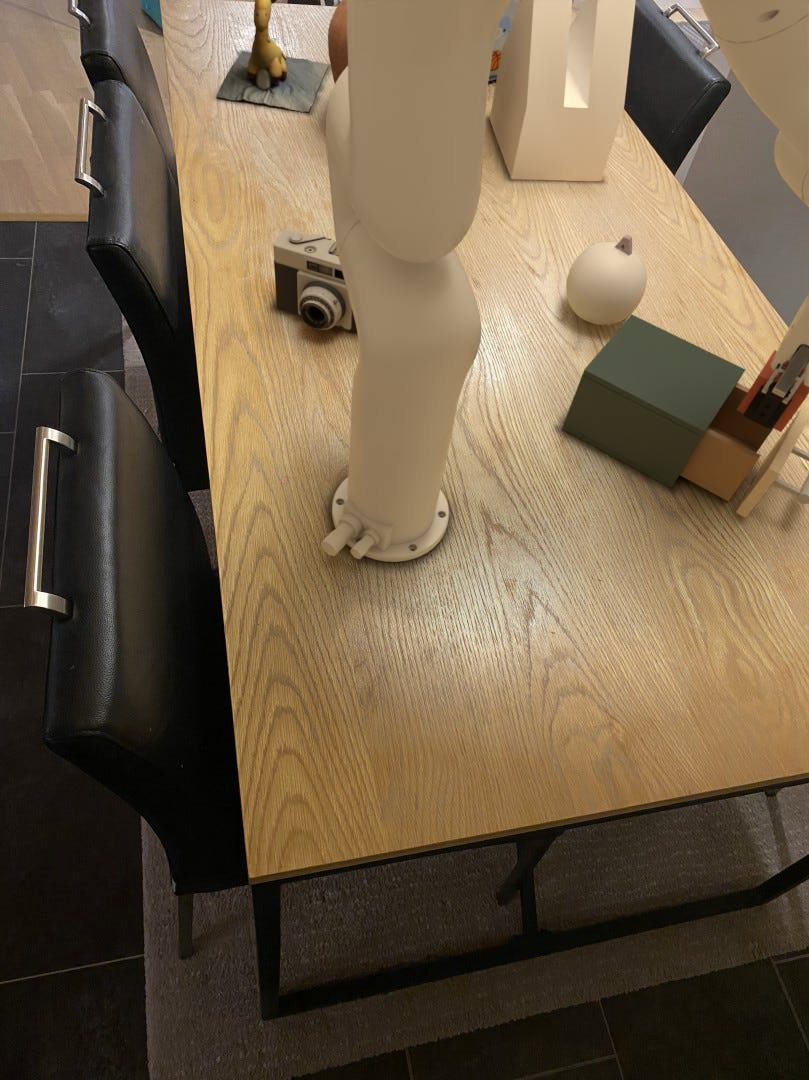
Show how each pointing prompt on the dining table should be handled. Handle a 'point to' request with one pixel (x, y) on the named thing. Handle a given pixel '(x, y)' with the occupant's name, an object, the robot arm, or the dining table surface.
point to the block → (766, 374)
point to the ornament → (606, 282)
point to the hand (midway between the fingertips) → (767, 404)
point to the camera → (311, 280)
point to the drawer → (743, 455)
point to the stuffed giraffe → (271, 71)
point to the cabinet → (650, 398)
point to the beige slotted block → (562, 88)
